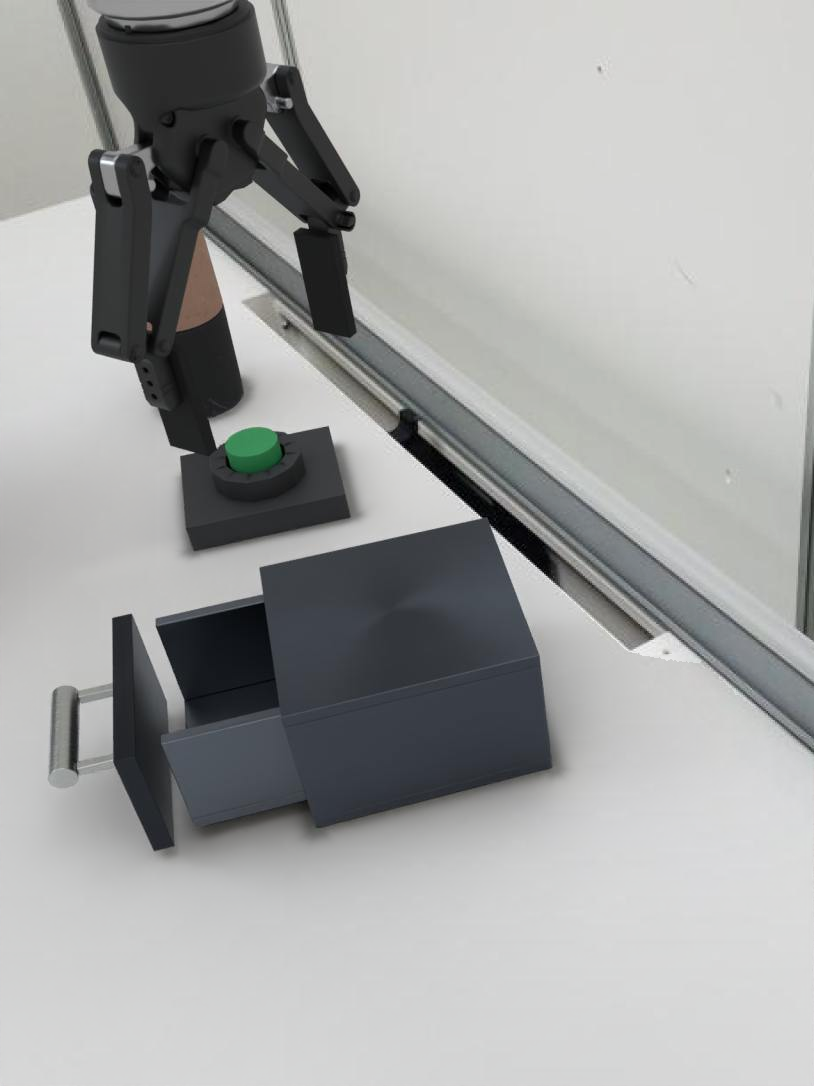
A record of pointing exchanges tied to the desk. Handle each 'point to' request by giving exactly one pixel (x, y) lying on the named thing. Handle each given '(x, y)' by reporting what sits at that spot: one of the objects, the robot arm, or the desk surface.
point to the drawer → (188, 721)
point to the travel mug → (206, 331)
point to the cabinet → (404, 670)
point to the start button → (253, 450)
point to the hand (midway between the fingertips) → (269, 386)
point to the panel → (263, 491)
